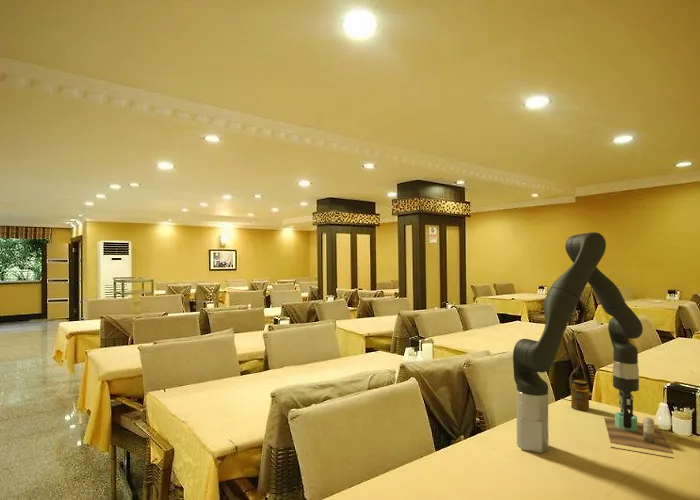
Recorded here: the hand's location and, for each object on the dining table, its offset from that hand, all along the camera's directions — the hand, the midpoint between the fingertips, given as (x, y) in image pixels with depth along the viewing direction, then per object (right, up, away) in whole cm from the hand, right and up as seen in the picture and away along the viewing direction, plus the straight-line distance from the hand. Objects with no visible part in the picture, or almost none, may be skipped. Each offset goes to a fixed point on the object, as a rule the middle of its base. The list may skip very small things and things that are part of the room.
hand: (626, 423), depth 145 cm
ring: (0, -1, 0) cm, 1 cm away
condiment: (-7, -3, +18) cm, 19 cm away
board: (0, -3, -5) cm, 6 cm away
